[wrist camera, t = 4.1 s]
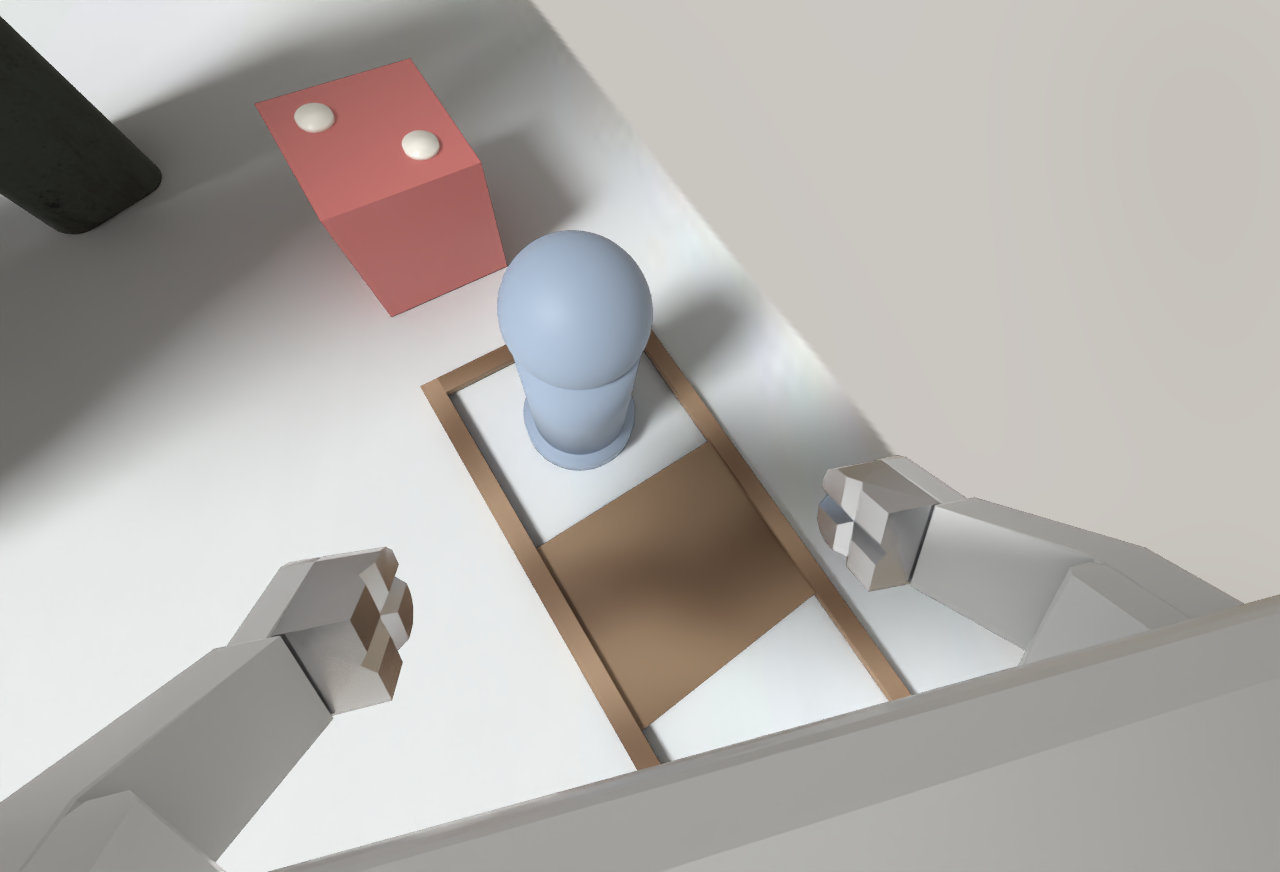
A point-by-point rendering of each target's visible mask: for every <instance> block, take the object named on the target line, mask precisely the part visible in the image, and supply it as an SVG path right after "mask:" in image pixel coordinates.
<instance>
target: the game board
mask: <svg viewBox="0 0 1280 872" xmlns="http://www.w3.org/2000/svg"><path fill="white" fill-rule="evenodd" d="M644 351H645V353H646V354H647V356H648V357H649V358H650V360H651V361H652V363H653V364H654V366H655V367H656V369H657V370H658V371H659V373H660V374H661V376H662V377H663V379H664V380H665V381H666V383H667V384H668V386H669V387H670V389H671V390H672V391H673V393H674V394H675V396H676V397H677V399H678V400H679V401H680V403H681V404H682V406H683V407H684V409H685V410H686V411H687V413H688V414H689V416H690V417H691V419H692V420H693V421H694V423H695V424H696V426H697V427H698V429H699V430H700V432H701V433H702V434H703V436H704V437H705V439H706V440H707V442H706V443H704V444H703V445H701V446H700V447H698V448H696V449H695V450H693V451H692V452H690V453H689V454H687V455H685V456H684V457H682V458H681V459H679V460H677V461H676V462H674V463H673V464H671V465H669V466H668V467H666V468H665V469H663V470H661V471H660V472H658V473H657V474H655V475H653V476H652V477H650V478H649V479H647V480H645V481H644V482H642V483H641V484H639V485H637V486H636V487H634V488H633V489H631V490H629V491H628V492H626V493H625V494H623V495H621V496H620V497H618V498H617V499H615V500H613V501H612V502H610V503H609V504H607V505H605V506H604V507H602V508H601V509H599V510H597V511H596V512H594V513H593V514H591V515H589V516H588V517H586V518H585V519H583V520H581V521H580V522H578V523H577V524H575V525H573V526H572V527H570V528H569V529H567V530H565V531H564V532H562V533H561V534H559V535H557V536H556V537H554V538H553V539H551V540H549V541H548V542H546V543H545V544H543V545H541V546H540V547H538V548H537V549H536V547H535V545H534V543H533V542H532V540H531V538H530V537H529V535H528V533H527V531H526V530H525V528H524V526H523V524H522V523H521V521H520V519H519V517H518V516H517V514H516V512H515V511H514V509H513V507H512V505H511V504H510V502H509V500H508V498H507V497H506V495H505V493H504V492H503V490H502V488H501V486H500V485H499V483H498V481H497V479H496V478H495V476H494V474H493V472H492V471H491V469H490V467H489V466H488V464H487V462H486V460H485V459H484V457H483V455H482V453H481V452H480V450H479V448H478V447H477V445H476V443H475V441H474V440H473V438H472V436H471V434H470V433H469V431H468V429H467V427H466V426H465V424H464V422H463V421H462V419H461V417H460V415H459V414H458V412H457V410H456V408H455V407H454V405H453V403H452V402H451V400H450V398H449V395H451V394H453V393H455V392H457V391H459V390H461V389H463V388H465V387H467V386H469V385H471V384H473V383H475V382H477V381H479V380H481V379H483V378H485V377H487V376H489V375H491V374H493V373H495V372H497V371H499V370H501V369H503V368H505V367H507V366H509V365H511V364H513V363H515V361H514V358H513V355H512V354H511V352H510V351H509V349H508V347H507V345H504V346H502V347H500V348H498V349H496V350H494V351H492V352H490V353H488V354H486V355H484V356H482V357H479V358H477V359H475V360H473V361H471V362H469V363H467V364H465V365H463V366H461V367H459V368H457V369H455V370H453V371H451V372H449V373H447V374H445V375H443V376H440V377H438V378H436V379H434V380H432V381H430V382H428V383H426V384H424V385H422V386H420V387H421V389H422V390H423V392H424V394H425V396H426V397H427V399H428V401H429V403H430V405H431V406H432V408H433V410H434V412H435V413H436V415H437V417H438V419H439V420H440V422H441V424H442V426H443V428H444V429H445V431H446V433H447V435H448V436H449V438H450V440H451V442H452V443H453V445H454V447H455V449H456V450H457V452H458V454H459V456H460V458H461V459H462V461H463V463H464V465H465V466H466V468H467V470H468V472H469V473H470V475H471V477H472V479H473V481H474V482H475V484H476V486H477V488H478V489H479V491H480V493H481V495H482V496H483V498H484V500H485V502H486V504H487V505H488V507H489V509H490V511H491V512H492V514H493V516H494V518H495V519H496V521H497V523H498V525H499V527H500V528H501V530H502V532H503V534H504V535H505V537H506V539H507V541H508V542H509V544H510V546H511V548H512V549H513V551H514V553H515V555H516V557H517V558H518V560H519V562H520V564H521V565H522V567H523V569H524V571H525V572H526V574H527V576H528V578H529V580H530V581H531V583H532V585H533V587H534V588H535V590H536V592H537V594H538V595H539V597H540V599H541V601H542V603H543V604H544V606H545V608H546V610H547V611H548V613H549V615H550V617H551V618H552V620H553V622H554V624H555V625H556V627H557V629H558V631H559V633H560V634H561V636H562V638H563V640H564V641H565V643H566V645H567V647H568V648H569V650H570V652H571V654H572V656H573V657H574V659H575V661H576V663H577V664H578V666H579V668H580V670H581V671H582V673H583V675H584V677H585V679H586V680H587V682H588V684H589V686H590V687H591V689H592V691H593V693H594V694H595V696H596V698H597V700H598V701H599V703H600V705H601V707H602V709H603V710H604V712H605V714H606V716H607V717H608V719H609V721H610V723H611V724H612V726H613V728H614V730H615V732H616V733H617V735H618V737H619V739H620V740H621V742H622V744H623V746H624V747H625V749H626V751H627V753H628V755H629V756H630V758H631V760H632V762H633V763H634V765H635V767H636V769H637V770H641V769H645V768H649V767H652V766H656V765H660V764H661V763H660V762H659V760H658V758H657V756H656V755H655V753H654V751H653V749H652V748H651V746H650V744H649V742H648V741H647V739H646V737H645V736H644V734H643V732H642V730H644V729H645V728H646V727H647V726H649V725H650V724H651V723H653V722H654V721H655V720H656V719H658V718H659V717H660V716H661V715H663V714H664V713H665V712H666V711H668V710H669V709H670V708H671V707H673V706H674V705H675V704H676V703H678V702H679V701H680V700H681V699H683V698H684V697H685V696H687V695H688V694H689V693H690V692H692V691H693V690H694V689H695V688H697V687H698V686H699V685H700V684H702V683H703V682H704V681H705V680H707V679H708V678H709V677H710V676H712V675H713V674H714V673H716V672H717V671H718V670H719V669H721V668H722V667H723V666H724V665H726V664H727V663H728V662H729V661H731V660H732V659H733V658H734V657H736V656H737V655H738V654H739V653H741V652H742V651H743V650H744V649H746V648H747V647H748V646H750V645H751V644H752V643H753V642H755V641H756V640H757V639H758V638H760V637H761V636H762V635H763V634H765V633H766V632H767V631H768V630H770V629H771V628H772V627H773V626H775V625H776V624H777V623H778V622H780V621H781V620H782V619H784V618H785V617H786V616H787V615H789V614H790V613H791V612H792V611H794V610H795V609H796V608H797V607H799V606H800V605H801V604H802V603H804V602H805V601H806V600H807V599H809V598H810V597H811V596H813V595H815V596H816V598H817V599H818V600H819V602H820V603H821V605H822V606H823V608H824V609H825V610H826V612H827V613H828V615H829V616H830V618H831V619H832V620H833V622H834V623H835V625H836V626H837V628H838V629H839V630H840V632H841V633H842V635H843V636H844V638H845V639H846V641H847V642H848V643H849V645H850V646H851V648H852V649H853V651H854V652H855V653H856V655H857V656H858V658H859V659H860V661H861V662H862V663H863V665H864V666H865V668H866V669H867V671H868V672H869V673H870V675H871V676H872V678H873V679H874V681H875V682H876V683H877V685H878V686H879V688H880V689H881V691H882V692H883V693H884V695H885V696H886V698H887V699H888V701H893V700H896V699H900V698H904V697H907V696H911V694H910V692H909V691H908V690H907V688H906V687H905V685H904V684H903V683H902V681H901V680H900V678H899V677H898V675H897V674H896V673H895V671H894V670H893V668H892V667H891V666H890V664H889V663H888V661H887V660H886V659H885V657H884V656H883V654H882V653H881V652H880V650H879V649H878V647H877V646H876V645H875V643H874V642H873V640H872V639H871V637H870V636H869V635H868V633H867V632H866V630H865V629H864V628H863V626H862V625H861V623H860V622H859V621H858V619H857V618H856V616H855V615H854V614H853V612H852V611H851V609H850V608H849V607H848V605H847V604H846V602H845V601H844V600H843V598H842V597H841V595H840V594H839V592H838V591H837V590H836V588H835V587H834V585H833V584H832V583H831V581H830V580H829V578H828V577H827V576H826V574H825V573H824V571H823V570H822V569H821V567H820V566H819V564H818V563H817V562H816V560H815V559H814V557H813V556H812V554H811V553H810V552H809V550H808V549H807V547H806V546H805V545H804V543H803V542H802V540H801V539H800V538H799V536H798V535H797V533H796V532H795V531H794V529H793V528H792V526H791V525H790V524H789V522H788V521H787V519H786V518H785V517H784V515H783V514H782V512H781V511H780V509H779V508H778V507H777V505H776V504H775V502H774V501H773V500H772V498H771V497H770V495H769V494H768V493H767V491H766V490H765V488H764V487H763V486H762V484H761V483H760V481H759V480H758V479H757V477H756V476H755V474H754V473H753V471H752V470H751V469H750V467H749V466H748V464H747V463H746V462H745V460H744V459H743V457H742V456H741V455H740V453H739V452H738V450H737V449H736V448H735V446H734V445H733V443H732V442H731V441H730V439H729V438H728V436H727V435H726V434H725V432H724V431H723V429H722V428H721V426H720V425H719V424H718V422H717V421H716V419H715V418H714V417H713V415H712V414H711V412H710V411H709V410H708V408H707V407H706V405H705V404H704V403H703V401H702V400H701V398H700V397H699V396H698V394H697V393H696V391H695V390H694V388H693V387H692V386H691V384H690V383H689V381H688V380H687V379H686V377H685V376H684V374H683V373H682V372H681V370H680V369H679V367H678V366H677V365H676V363H675V362H674V360H673V359H672V358H671V356H670V355H669V353H668V352H667V351H666V349H665V348H664V346H663V345H662V343H661V342H660V341H659V339H658V338H657V336H656V335H655V334H654V332H653V331H652V329H651V333H650V336H649V339H648V342H647V344H646V347H645V349H644Z"/></svg>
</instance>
